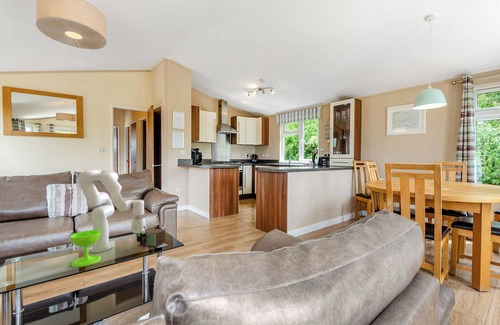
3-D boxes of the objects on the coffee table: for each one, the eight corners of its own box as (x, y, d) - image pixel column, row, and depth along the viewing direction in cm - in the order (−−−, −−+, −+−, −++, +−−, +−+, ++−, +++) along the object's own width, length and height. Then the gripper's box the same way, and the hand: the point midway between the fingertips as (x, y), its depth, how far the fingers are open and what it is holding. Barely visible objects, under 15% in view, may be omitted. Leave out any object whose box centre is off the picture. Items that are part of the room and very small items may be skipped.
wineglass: (106, 258, 150) (106, 231, 150) (80, 269, 135) (79, 239, 135) (91, 254, 157) (91, 229, 156) (65, 264, 142) (64, 236, 142)
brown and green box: (137, 245, 172) (137, 232, 172) (149, 240, 183) (149, 228, 183) (154, 247, 167) (154, 234, 167) (165, 242, 178) (165, 229, 178)
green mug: (141, 247, 166) (140, 235, 166) (146, 244, 171) (146, 233, 171) (150, 248, 163) (149, 236, 163) (155, 245, 168) (155, 234, 168)
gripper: (126, 217, 166) (127, 242, 166) (142, 218, 161) (143, 244, 161) (134, 215, 173) (135, 238, 173) (150, 216, 168) (151, 240, 168)
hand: (139, 241), depth 167 cm, fingers closed
